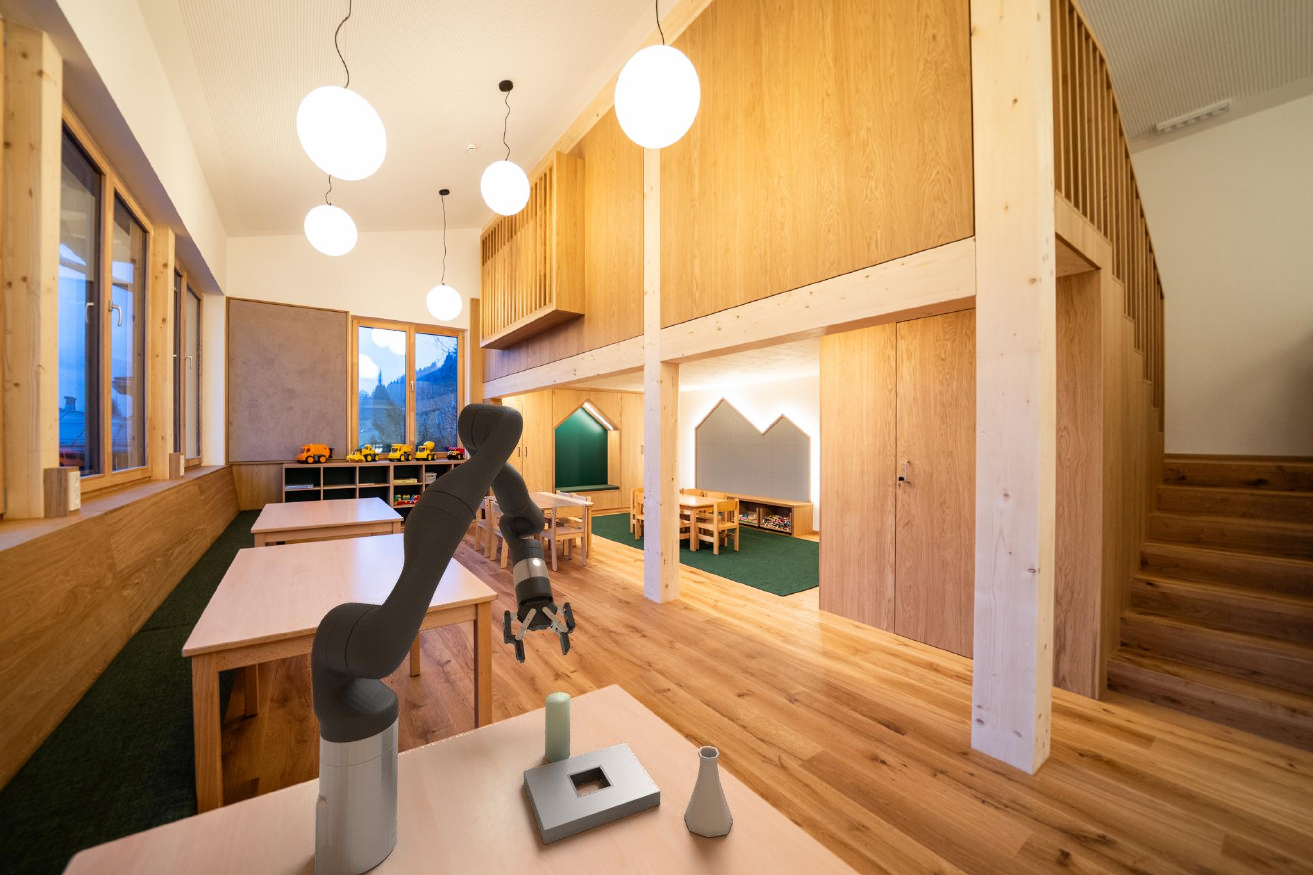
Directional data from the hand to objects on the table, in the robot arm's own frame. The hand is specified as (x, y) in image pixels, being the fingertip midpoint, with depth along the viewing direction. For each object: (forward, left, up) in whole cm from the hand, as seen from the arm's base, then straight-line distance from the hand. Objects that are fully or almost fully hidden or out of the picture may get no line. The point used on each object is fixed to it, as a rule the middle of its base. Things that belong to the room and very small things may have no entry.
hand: (544, 657), depth 98 cm
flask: (+16, -35, -14) cm, 41 cm away
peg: (0, -10, -14) cm, 17 cm away
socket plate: (+2, -22, -14) cm, 26 cm away
